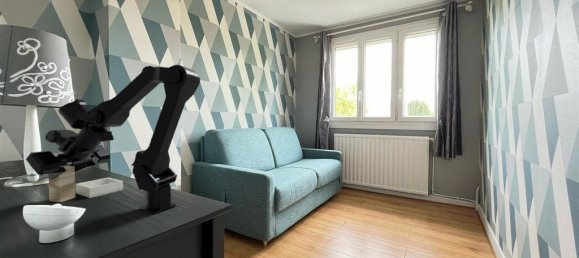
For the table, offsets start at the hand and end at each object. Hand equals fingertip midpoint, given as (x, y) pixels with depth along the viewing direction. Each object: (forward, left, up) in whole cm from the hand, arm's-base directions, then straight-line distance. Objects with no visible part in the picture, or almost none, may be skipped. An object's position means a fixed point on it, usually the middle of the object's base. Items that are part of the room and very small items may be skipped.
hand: (58, 176), depth 70 cm
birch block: (-1, 0, -7) cm, 7 cm away
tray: (-2, -9, -7) cm, 12 cm away
